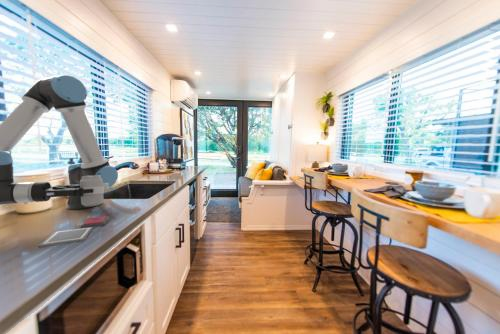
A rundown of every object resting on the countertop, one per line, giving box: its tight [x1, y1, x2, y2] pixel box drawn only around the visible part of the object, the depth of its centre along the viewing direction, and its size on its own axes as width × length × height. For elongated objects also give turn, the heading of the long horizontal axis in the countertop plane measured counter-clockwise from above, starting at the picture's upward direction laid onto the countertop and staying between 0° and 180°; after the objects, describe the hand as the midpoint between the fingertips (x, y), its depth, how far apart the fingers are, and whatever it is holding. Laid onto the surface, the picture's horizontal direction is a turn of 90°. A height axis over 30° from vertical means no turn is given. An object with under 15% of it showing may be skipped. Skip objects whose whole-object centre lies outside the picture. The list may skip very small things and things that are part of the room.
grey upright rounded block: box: [80, 175, 105, 207], centre depth 88 cm, size 8×8×12 cm
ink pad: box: [79, 215, 110, 229], centre depth 90 cm, size 9×8×2 cm
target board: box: [38, 227, 95, 248], centre depth 77 cm, size 12×12×1 cm
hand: (105, 187), depth 90 cm, fingers closed on grey upright rounded block, 7 cm apart
